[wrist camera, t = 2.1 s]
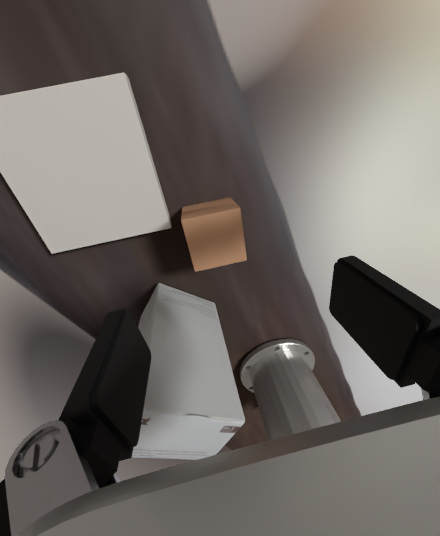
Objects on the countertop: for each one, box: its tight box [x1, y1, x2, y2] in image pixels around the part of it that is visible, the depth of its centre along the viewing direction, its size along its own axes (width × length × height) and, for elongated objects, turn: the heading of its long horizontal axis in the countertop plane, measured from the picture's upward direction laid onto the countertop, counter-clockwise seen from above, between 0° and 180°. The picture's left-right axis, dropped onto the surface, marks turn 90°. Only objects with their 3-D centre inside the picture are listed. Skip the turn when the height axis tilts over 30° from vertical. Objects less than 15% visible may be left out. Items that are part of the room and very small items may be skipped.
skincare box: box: [132, 283, 245, 460], centre depth 21 cm, size 8×6×15 cm
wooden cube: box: [181, 197, 247, 272], centre depth 21 cm, size 5×5×5 cm
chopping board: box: [0, 73, 172, 254], centre depth 19 cm, size 12×12×1 cm
